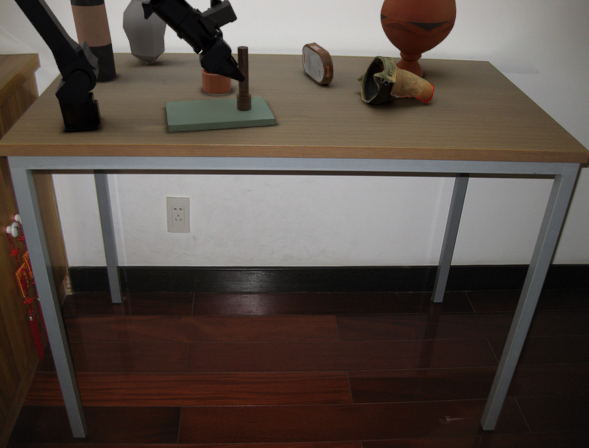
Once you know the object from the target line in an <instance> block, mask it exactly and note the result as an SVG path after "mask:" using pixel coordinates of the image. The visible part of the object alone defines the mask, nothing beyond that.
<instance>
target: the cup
mask: <svg viewBox="0 0 589 448" xmlns="http://www.w3.org/2000/svg"><path fill="white" fill-rule="evenodd" d="M200 74H201V86H202V91H203V92H205V93H207V94H214V95H217V94H218V95H219V94H220V95H221V94H226V93H229V92H231V90H232V89H233V88H232V79H231V78H228V77H225V76H221V75H218V74H214V73H213V74H212V73H208V72H207V71H206V70H204V69H203V68H201V71H200Z"/></svg>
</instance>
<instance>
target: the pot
mask: <svg viewBox="0 0 589 448" xmlns="http://www.w3.org/2000/svg"><path fill="white" fill-rule="evenodd" d="M356 81H357V82H358V84H359V85H360V89H361V90H360V93H361V99H362V101H364V102H365V103H370V104H374V105H377V104H381V103H386V102H389V101H390V102H392V101H394V100H395V98H397V99H398V98H405V97H408V98H409V99H411V98H412V97H413V98H415V99H416V100H418V101H420V102H423V103H425V104H426V105H428V104H429V102H431V101H432V99H433V97H434V94H435V86H434V84H433V83H431V82H429V81H427V80H426V79H425V78H422V77H419V76H417V75H415V74H413V73H411V72H408V71H406V70H402V69H399V68H398V67H397V66H396V63H395V61H394V59H393V57H390V56H383V55H377V56H375V57H374V58H373V59H372V61H371V62H370V64H369V65H368V67H367V69H366V71H365V72H364V74H362V75H360V76H359V77H358V78H357V79H356Z"/></svg>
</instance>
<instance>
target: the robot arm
mask: <svg viewBox="0 0 589 448" xmlns="http://www.w3.org/2000/svg"><path fill="white" fill-rule="evenodd" d="M13 1H14V3H15V4H16V5H17V6H18V7H19V9H20V10H21V12H22V13H23V14H24V16H25V17H26V19H27V20H28V22H29V23H30V24H31V25H32V27H33V28H34V29H35V30H36V32H37V33H38V35H39V36H40V37H41V39H42V40H43V42H44V43H45V45H46V46H47V47H48V48H49V50H50V52H51V53H52V56H53V59H54V61H55V64H56V67H57V70H58V71H59V73H60V75H61V79H60V80H59V83H58V85H57V88H56V91H55V93H54V96H55V98H56V99H57V101H58V105H59V109H60V113H61V118H62V121H63V128H62V130H63V132H65V133H67V132H68V133H69V132H82V131H97V130H99V126H100V124H101V122H102V116H101V114H102V113H101V110H100V105H99V101H98V99H95V95H94V92H93V90H94V89H95V87H96V86H97V83H98V82H97V78H98V73H99V67H98V64H97V62H98V58H97V57H96V56H94V55H93V53H92V52H91V51H90V49H89V46H88V44H87V43H86V41H84V42H83V43H82V44H80V45H79V43H78V41H76V40H74V39H73V38H72V36H71V35H70V34H69V33H68V32H67V30H66V29H65V27H64V25H62V23H61V22H60V20H59V19H58V18H57V16H56V15H55V14H54V12H53V10H52V9H51V7H50V5H48V3H47V1H46V0H13ZM209 3H210V4H209V5H210V6H209V7H207V8H206V10H204V11H203V12H202V11H201V10H200V9H199V8H196V7H193V6H192V5H191V4H190V3H189V2H188V1H187V0H149V1H147V2H145V1H142V3H141V5H142V7H143V10H144V18H145V19H146V20H147V19H148V18H149V17H150V16H151V15H152V14H153V12H154V13H155V14H156V15H157V16H158V17H159V18H160V19H162V20H163V21H164V22H165V23H166V26H168V27H169V28H170V29H171V30H172V31H173V32H174V33H175V34H176V37H178V38H179V39H180V40H183V41H185V43H186V44H187V45H189V46H190V47H191V48H192V50H193V52H194V53H195V54H196V55H198V57H199V58H198V59H199V60H198V61H199V64H200V67H201V69H204V70H206V71H207V72H208V73H212V74H213V73H214V74H218V75H221V76H225V77H228V78H231V80H235V81H237V82H238V81H240V82H243V81H244V80H245V79H246V78H245V77H244V75H243V74H242V72H241V71H240V70H239V68H238V61H237V60H236V59H235V57H234V56H233V54H232V53H233V50H232V47H231V45H229V43H227V41H226V40H225V39H224V33H223V30H222V29H221V28H222V27H224V26H227V25H228V24H230V23H231V24H232V23H235V22H236V21H237V20H238V17H237V15H236V12H235V10H234V7H233V5H232V3H231V2H230V0H209Z"/></svg>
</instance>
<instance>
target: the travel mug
mask: <svg viewBox="0 0 589 448" xmlns="http://www.w3.org/2000/svg"><path fill="white" fill-rule="evenodd" d="M69 1H70V6H71V11H72V12H71V13H72V17H73V22H74V28H75V33H76V38H77V43H78V44H79V45H80V44H82V43H83V42H84V41H86V43H87V44H88V46H89V49H90V51H91V52H92V53H93V55H94V56H96V57H97V58H98V62H97V64H98V67H99V73H98V78H97V83H105V82H110V81H113V80H115V79H116V78H117V71H116V63H115V55H114V48H113V41H112V36H111V35H112V34H111V31H110V24H109V18H108V13H107V8H106V7H107V6H106V3H105V0H69Z"/></svg>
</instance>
